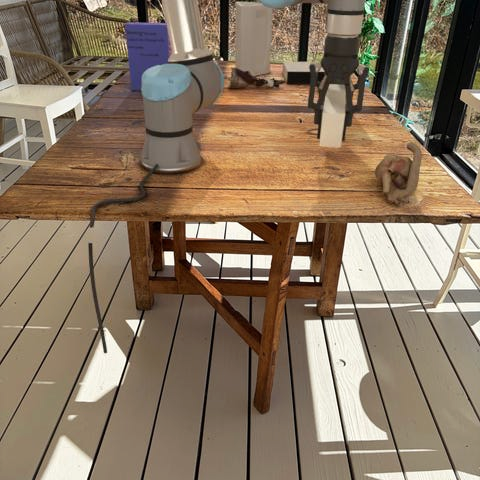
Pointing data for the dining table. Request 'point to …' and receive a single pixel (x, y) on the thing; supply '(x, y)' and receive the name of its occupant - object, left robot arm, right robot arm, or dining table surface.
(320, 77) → the disc drive
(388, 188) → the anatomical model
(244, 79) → the figurine
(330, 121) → the bar
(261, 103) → the dining table surface
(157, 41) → the cereal box
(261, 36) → the white tapered box
